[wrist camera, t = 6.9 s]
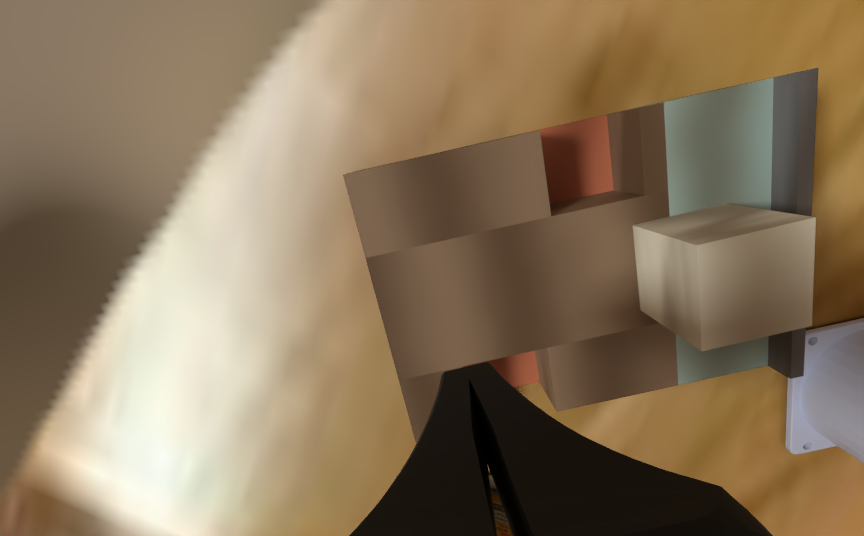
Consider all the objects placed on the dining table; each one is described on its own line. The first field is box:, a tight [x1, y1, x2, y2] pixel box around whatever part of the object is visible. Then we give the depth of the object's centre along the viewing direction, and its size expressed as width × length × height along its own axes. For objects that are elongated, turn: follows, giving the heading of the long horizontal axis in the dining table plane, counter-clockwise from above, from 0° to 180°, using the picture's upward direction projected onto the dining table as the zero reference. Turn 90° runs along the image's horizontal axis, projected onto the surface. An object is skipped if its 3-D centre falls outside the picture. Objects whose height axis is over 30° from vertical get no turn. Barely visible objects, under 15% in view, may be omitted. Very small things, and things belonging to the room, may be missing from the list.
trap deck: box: [343, 68, 818, 442], centre depth 19 cm, size 18×13×4 cm
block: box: [633, 203, 816, 351], centre depth 16 cm, size 4×4×4 cm
